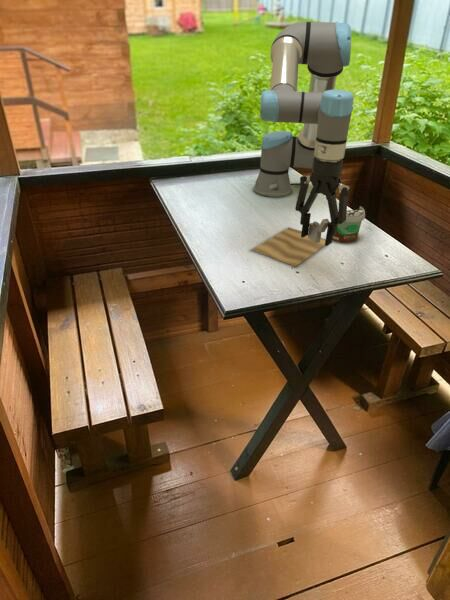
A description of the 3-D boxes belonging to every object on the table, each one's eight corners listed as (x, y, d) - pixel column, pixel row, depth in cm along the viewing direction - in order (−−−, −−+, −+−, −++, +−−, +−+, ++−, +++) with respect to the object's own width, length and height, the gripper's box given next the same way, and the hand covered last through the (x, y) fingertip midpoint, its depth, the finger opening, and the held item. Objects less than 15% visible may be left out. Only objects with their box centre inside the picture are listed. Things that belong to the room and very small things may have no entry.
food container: (339, 247, 143) (344, 219, 138) (327, 240, 148) (332, 212, 142) (368, 240, 148) (374, 212, 142) (355, 233, 152) (361, 205, 147)
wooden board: (288, 228, 155) (289, 227, 155) (329, 241, 147) (330, 241, 146) (252, 250, 140) (252, 249, 140) (295, 266, 132) (295, 266, 132)
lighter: (307, 237, 128) (310, 211, 124) (312, 236, 129) (316, 210, 124) (320, 247, 123) (325, 221, 118) (326, 246, 123) (330, 220, 119)
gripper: (287, 153, 114) (279, 233, 128) (358, 170, 104) (342, 255, 117) (302, 147, 119) (293, 225, 132) (371, 162, 109) (354, 245, 122)
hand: (316, 239), depth 125 cm, fingers closed on lighter, 7 cm apart
